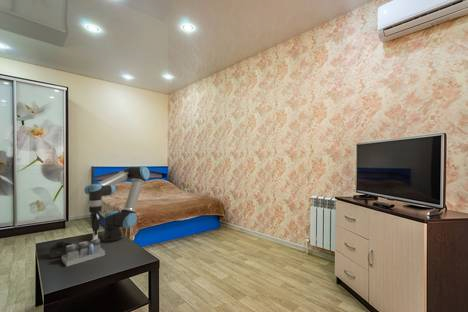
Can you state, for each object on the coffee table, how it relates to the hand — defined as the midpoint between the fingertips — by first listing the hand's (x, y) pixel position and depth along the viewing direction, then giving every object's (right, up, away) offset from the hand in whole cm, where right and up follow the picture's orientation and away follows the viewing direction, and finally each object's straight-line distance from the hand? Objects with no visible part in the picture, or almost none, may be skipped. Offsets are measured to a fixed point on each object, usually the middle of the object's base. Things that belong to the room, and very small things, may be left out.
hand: (95, 239), depth 157 cm
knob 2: (0, -7, 0) cm, 7 cm away
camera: (-24, -11, -1) cm, 26 cm away
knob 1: (-9, -7, -10) cm, 16 cm away
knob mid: (-5, -7, -5) cm, 10 cm away
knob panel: (-5, -11, -5) cm, 13 cm away
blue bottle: (+1, -8, -6) cm, 10 cm away
